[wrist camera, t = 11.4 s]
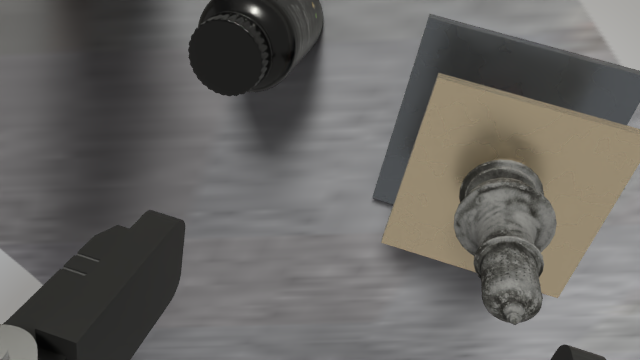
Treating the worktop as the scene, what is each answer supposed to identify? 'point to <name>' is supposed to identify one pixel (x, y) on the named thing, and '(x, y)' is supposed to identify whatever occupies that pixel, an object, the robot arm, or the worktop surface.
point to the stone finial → (506, 235)
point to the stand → (507, 139)
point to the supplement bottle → (252, 42)
